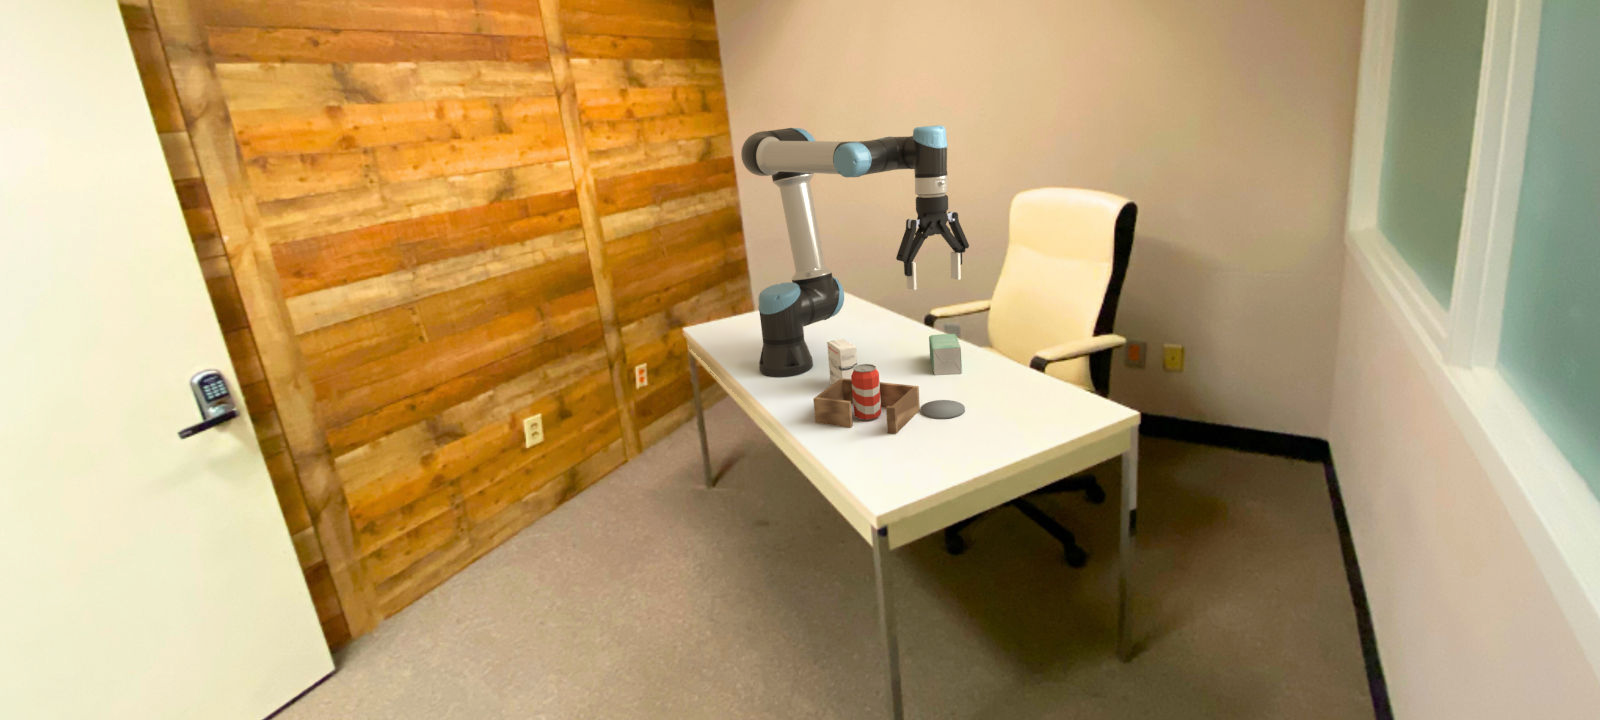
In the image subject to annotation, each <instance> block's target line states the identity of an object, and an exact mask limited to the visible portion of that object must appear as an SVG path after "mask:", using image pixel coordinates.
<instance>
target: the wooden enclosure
mask: <svg viewBox="0 0 1600 720" xmlns="http://www.w3.org/2000/svg"><path fill="white" fill-rule="evenodd" d="M879 382H880V399H881V409H883V408H884V409H885V410H886V411H885V412H886V427H887V434H892V435H893V434H894V435H897V434H898V433H899V432H900V431H901V430H902V429H903V428H904V427H905V426H906V425H907V424H908V423H909V422H910V421H911V420H912V419H913V418H914V417H915V415H917V414H919V412H921V406H920V387H919V385H911V384H910V385H909V384H900V383H891V382H882V381H879ZM852 405H853V394H852V380H851V379H844V378H841V379H839V380H838V381H837V382H835V383H834V384H832V385H831V384H830V386H828V387H827V388H826V389H824V390H822V391H821V392H820V393H819V394H818V395H816V396H815V397H813V410H814V420H815V424H822V425H829V426H836V427H844V428H850V429H851V428H852V427H853V415H852V414H853V413H852Z"/></svg>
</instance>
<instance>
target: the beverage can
mask: <svg viewBox="0 0 1600 720" xmlns="http://www.w3.org/2000/svg"><path fill="white" fill-rule="evenodd" d="M853 370H854V371H853V373H852V375H851V380H852V394H853V404H852V406H853V407H852V408H853V416H854V417H856V418H857V419H859V420H861V421H873V420H875V419H878V417H880V416H881V415H882V407H881V399H880V382H881V381H880V372H879V371H878V370H877V366H876V365H874V364H871V363H862V364H857V366H855V367H854V368H853Z"/></svg>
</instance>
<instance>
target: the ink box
mask: <svg viewBox="0 0 1600 720" xmlns="http://www.w3.org/2000/svg"><path fill="white" fill-rule="evenodd" d="M826 345H827V355H828V356H827V357H828V367H829V368H828V369H829V382H830V386H831V385H832V384H834V383H835V382H837V381H838V380H839V379H841V378H844V379H851V375H852V373H853V371H854V370H853V368H854V367H855V366H857V365H858V355H857V346H856V345H854V344H852V343H850V342H849V341H847V340H846V339H844V338H843V339H837V340H830V341H827V342H826Z"/></svg>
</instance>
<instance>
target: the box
mask: <svg viewBox="0 0 1600 720" xmlns="http://www.w3.org/2000/svg"><path fill="white" fill-rule="evenodd" d="M928 341H929V342H928V343H929V359H930V363H931V368H932V371H933V374H934V376H945V375H946V376H947V375H948V376H950V375H960V374H962V372H963V368H962V350H961V349H962V348H961V345H960V343H959V339H958V337H957V334H955V333H945V334H944V333H943V334H932V335H929V336H928Z"/></svg>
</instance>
